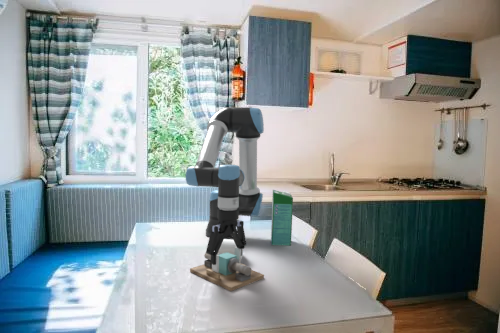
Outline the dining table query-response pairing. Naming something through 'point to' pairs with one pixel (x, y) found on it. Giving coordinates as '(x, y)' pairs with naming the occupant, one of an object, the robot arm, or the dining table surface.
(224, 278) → the shaft board
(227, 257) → the block
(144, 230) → the dining table surface
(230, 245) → the mug
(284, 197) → the milk carton
